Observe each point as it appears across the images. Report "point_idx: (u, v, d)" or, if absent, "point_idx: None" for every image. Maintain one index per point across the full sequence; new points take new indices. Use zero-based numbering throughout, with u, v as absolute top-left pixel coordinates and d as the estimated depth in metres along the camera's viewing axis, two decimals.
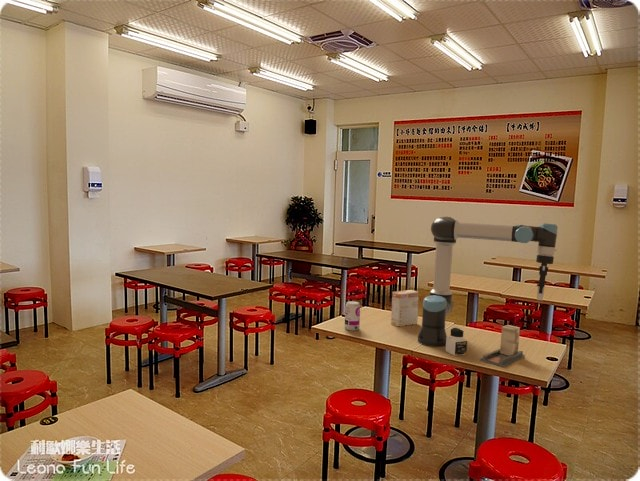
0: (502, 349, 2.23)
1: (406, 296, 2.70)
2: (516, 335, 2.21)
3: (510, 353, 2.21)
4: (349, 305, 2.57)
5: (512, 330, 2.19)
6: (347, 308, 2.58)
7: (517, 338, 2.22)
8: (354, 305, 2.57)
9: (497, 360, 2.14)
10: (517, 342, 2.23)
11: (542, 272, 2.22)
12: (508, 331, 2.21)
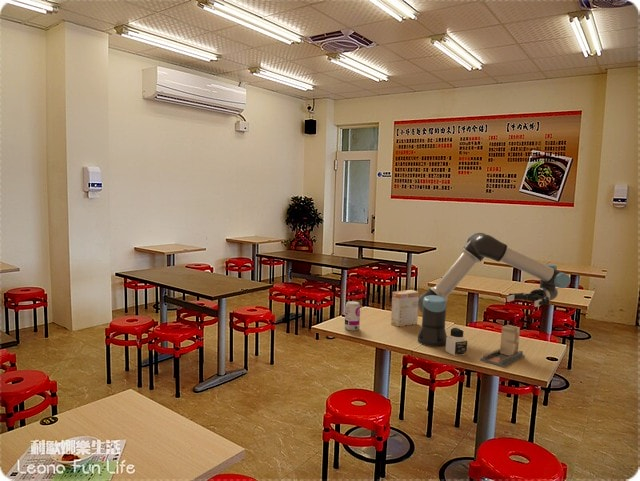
0: (502, 349, 2.23)
1: (406, 296, 2.70)
2: (516, 335, 2.21)
3: (510, 353, 2.21)
4: (349, 305, 2.57)
5: (512, 330, 2.19)
6: (347, 308, 2.58)
7: (517, 338, 2.22)
8: (354, 305, 2.57)
9: (497, 360, 2.14)
10: (517, 342, 2.23)
11: (548, 299, 2.32)
12: (508, 331, 2.21)
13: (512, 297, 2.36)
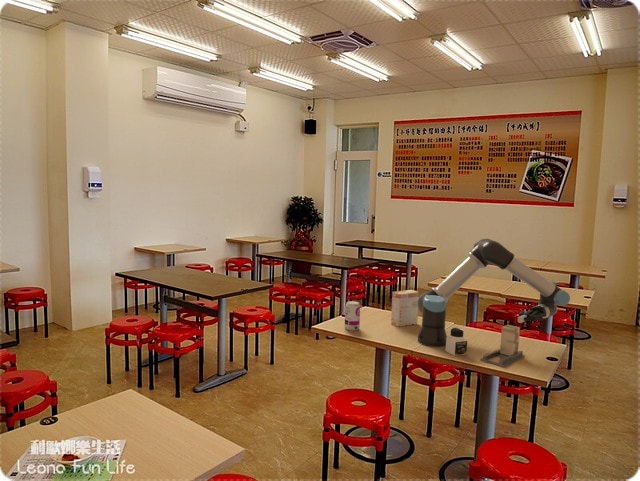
0: (502, 349, 2.23)
1: (406, 296, 2.70)
2: (516, 335, 2.21)
3: (510, 353, 2.21)
4: (349, 305, 2.57)
5: (512, 330, 2.19)
6: (347, 308, 2.58)
7: (517, 338, 2.22)
8: (354, 305, 2.57)
9: (497, 360, 2.14)
10: (517, 342, 2.23)
11: (541, 317, 2.33)
12: (508, 331, 2.21)
13: None
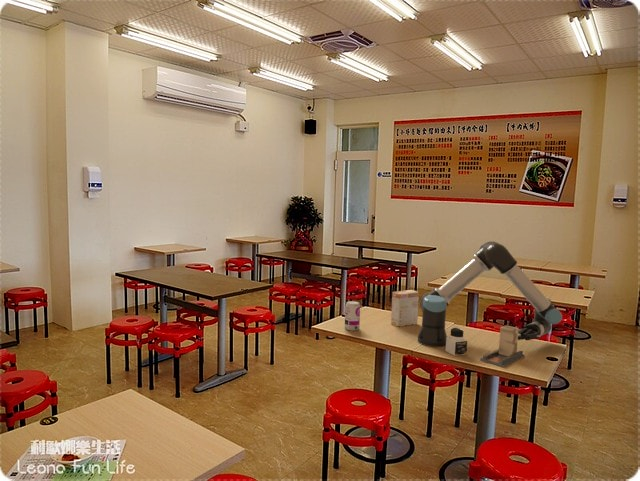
0: (501, 350, 2.22)
1: (406, 296, 2.70)
2: (515, 335, 2.20)
3: (509, 354, 2.20)
4: (349, 305, 2.57)
5: (511, 331, 2.18)
6: (347, 308, 2.58)
7: (516, 339, 2.21)
8: (354, 305, 2.57)
9: (497, 360, 2.14)
10: (516, 343, 2.22)
11: (535, 335, 2.30)
12: (507, 332, 2.20)
13: None
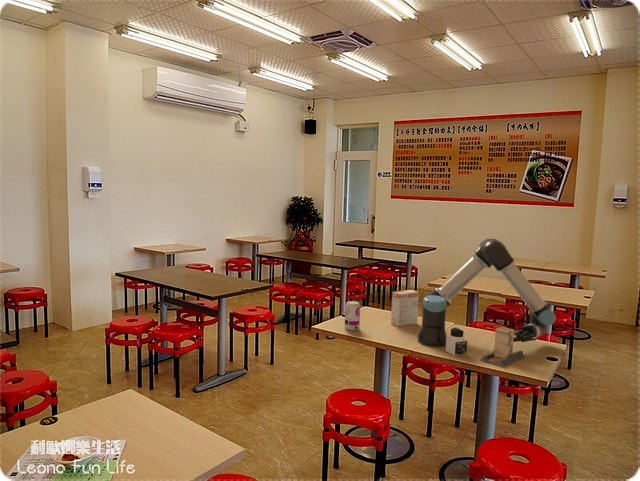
0: (496, 352, 2.19)
1: (406, 296, 2.70)
2: (510, 337, 2.17)
3: (504, 356, 2.16)
4: (349, 305, 2.57)
5: (506, 332, 2.15)
6: (347, 308, 2.58)
7: (511, 340, 2.18)
8: (354, 305, 2.57)
9: (497, 360, 2.14)
10: (511, 344, 2.18)
11: (531, 337, 2.27)
12: (502, 334, 2.17)
13: None
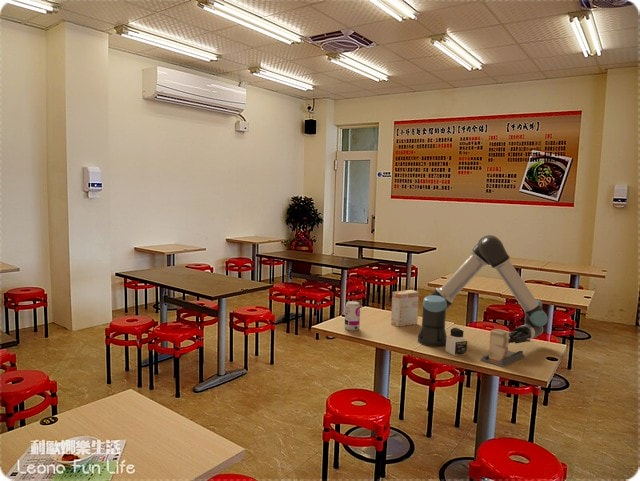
0: (491, 354, 2.16)
1: (406, 296, 2.70)
2: (505, 339, 2.13)
3: (499, 358, 2.13)
4: (349, 305, 2.57)
5: (501, 334, 2.12)
6: (347, 308, 2.58)
7: (506, 342, 2.15)
8: (354, 305, 2.57)
9: None
10: (506, 347, 2.15)
11: (525, 338, 2.24)
12: (497, 335, 2.13)
13: None
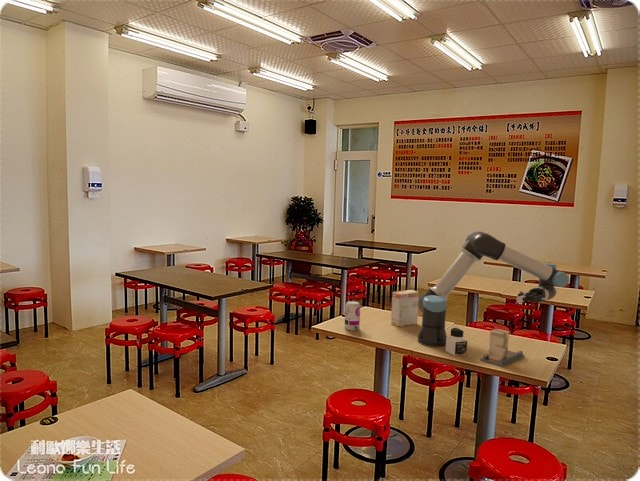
0: (491, 354, 2.16)
1: (406, 296, 2.70)
2: (505, 339, 2.13)
3: (499, 358, 2.13)
4: (349, 305, 2.57)
5: (501, 334, 2.12)
6: (347, 308, 2.58)
7: (506, 342, 2.15)
8: (354, 305, 2.57)
9: None
10: (506, 347, 2.15)
11: (540, 298, 2.31)
12: (497, 335, 2.13)
13: None
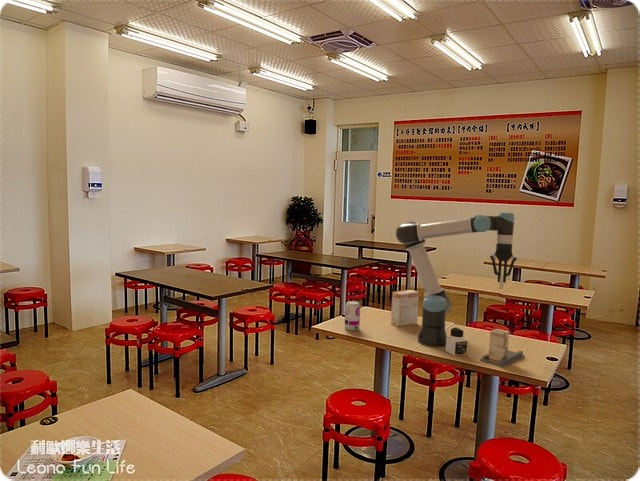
0: (491, 354, 2.16)
1: (406, 296, 2.70)
2: (505, 339, 2.13)
3: (499, 358, 2.13)
4: (349, 305, 2.57)
5: (501, 334, 2.12)
6: (347, 308, 2.58)
7: (506, 342, 2.15)
8: (354, 305, 2.57)
9: None
10: (506, 347, 2.15)
11: (513, 263, 2.36)
12: (497, 335, 2.13)
13: None
